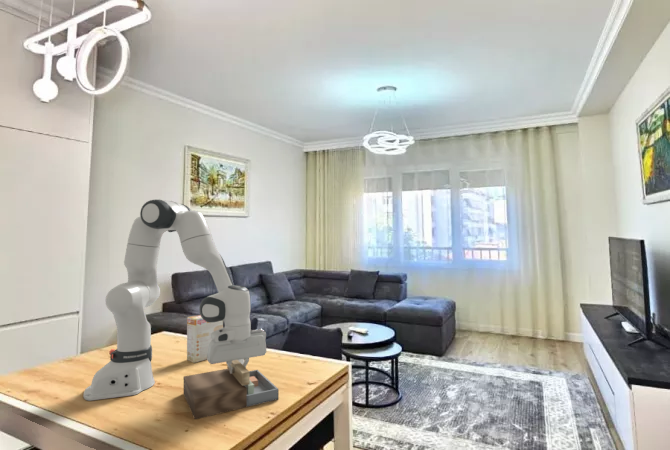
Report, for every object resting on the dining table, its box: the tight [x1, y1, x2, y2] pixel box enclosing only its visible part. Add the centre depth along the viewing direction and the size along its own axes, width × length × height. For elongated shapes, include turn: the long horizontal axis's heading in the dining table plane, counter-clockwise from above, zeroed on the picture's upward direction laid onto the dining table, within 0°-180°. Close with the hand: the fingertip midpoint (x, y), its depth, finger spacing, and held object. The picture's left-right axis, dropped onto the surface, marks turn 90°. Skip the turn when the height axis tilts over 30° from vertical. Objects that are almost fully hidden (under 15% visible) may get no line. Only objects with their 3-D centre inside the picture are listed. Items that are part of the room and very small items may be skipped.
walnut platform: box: [183, 368, 248, 420], centre depth 125 cm, size 16×22×6 cm
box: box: [246, 369, 280, 408], centre depth 132 cm, size 11×22×4 cm, turn 30°
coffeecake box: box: [186, 314, 224, 364], centre depth 172 cm, size 15×7×20 cm, turn 141°
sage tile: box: [244, 381, 254, 395], centre depth 125 cm, size 5×5×2 cm
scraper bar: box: [226, 360, 250, 386], centre depth 129 cm, size 2×20×4 cm, turn 30°
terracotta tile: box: [250, 376, 258, 387], centre depth 136 cm, size 5×5×2 cm
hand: (237, 372), depth 129 cm, fingers closed on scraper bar, 2 cm apart
